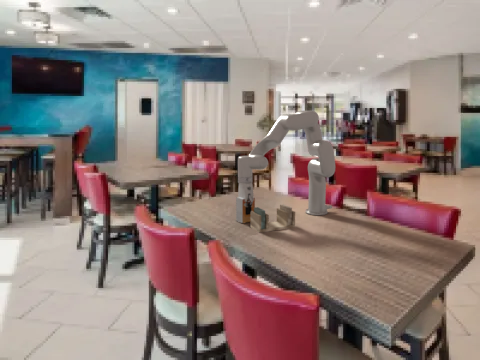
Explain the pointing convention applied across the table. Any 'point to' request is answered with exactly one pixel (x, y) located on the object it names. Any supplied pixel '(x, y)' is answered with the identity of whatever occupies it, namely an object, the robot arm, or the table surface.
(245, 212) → the small box
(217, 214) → the table surface
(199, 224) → the table surface
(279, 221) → the book rack
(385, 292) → the table surface
